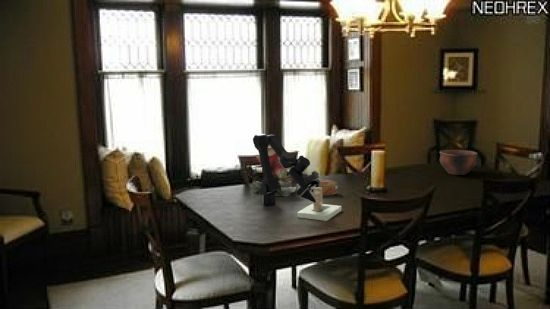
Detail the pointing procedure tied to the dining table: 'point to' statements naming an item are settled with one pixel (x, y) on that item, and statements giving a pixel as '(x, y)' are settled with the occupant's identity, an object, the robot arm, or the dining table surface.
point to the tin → (329, 187)
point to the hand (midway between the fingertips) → (319, 199)
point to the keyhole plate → (324, 215)
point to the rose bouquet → (275, 174)
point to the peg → (317, 199)
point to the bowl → (458, 161)
